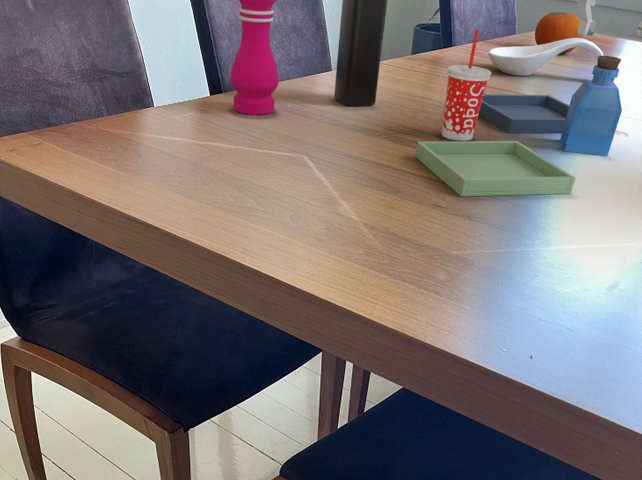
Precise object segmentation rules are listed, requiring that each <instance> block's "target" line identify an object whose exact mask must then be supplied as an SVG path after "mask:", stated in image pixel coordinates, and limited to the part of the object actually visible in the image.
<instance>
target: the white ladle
mask: <svg viewBox="0 0 642 480" xmlns="http://www.w3.org/2000/svg"><path fill="white" fill-rule="evenodd" d="M573 47H576V48H583V49H586V50H587V51H589V52H591V53H592V54H593V55H594V56H595V58H596V60H597V61H598V56H605V55H604V52H603V51H602V49H601V48H600V47H599V46H598V45H597V44H595V43H594V42H592V41H590V40H588V39H585V38H582V39H581V38H570V39H564V40H560V41H556V42H552V43H547V44H542V45H537V44H535V45H525V46H523V45H522V46H501V47H494V48H492V49H490V50H488V57H489V59H490V61H491V63H492V65H494V67H496V68H497V69H498V70H499V71H501V72H502V73H504V74H507V75H513V76H522V77H526V76H531V75H532V74H533V73H535V72H537V71H538V70H539V69H541V68H542V67H543V66H544V65H546V64H547V63H548V62H550V61H551V60H552V59H553V58H555V57H556V56H558V55H559V54H562V53H561V52H563V51H565V50H567V49H569V48H573Z"/></svg>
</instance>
